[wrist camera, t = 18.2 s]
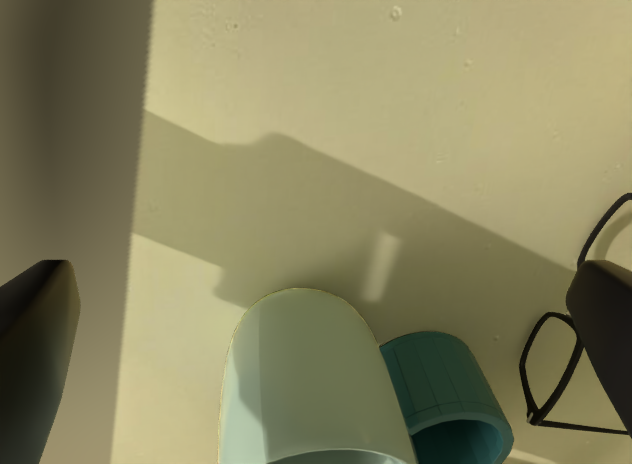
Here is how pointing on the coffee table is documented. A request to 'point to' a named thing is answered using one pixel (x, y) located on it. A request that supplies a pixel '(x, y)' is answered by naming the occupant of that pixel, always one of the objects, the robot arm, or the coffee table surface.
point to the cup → (308, 387)
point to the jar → (447, 401)
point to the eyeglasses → (537, 415)
